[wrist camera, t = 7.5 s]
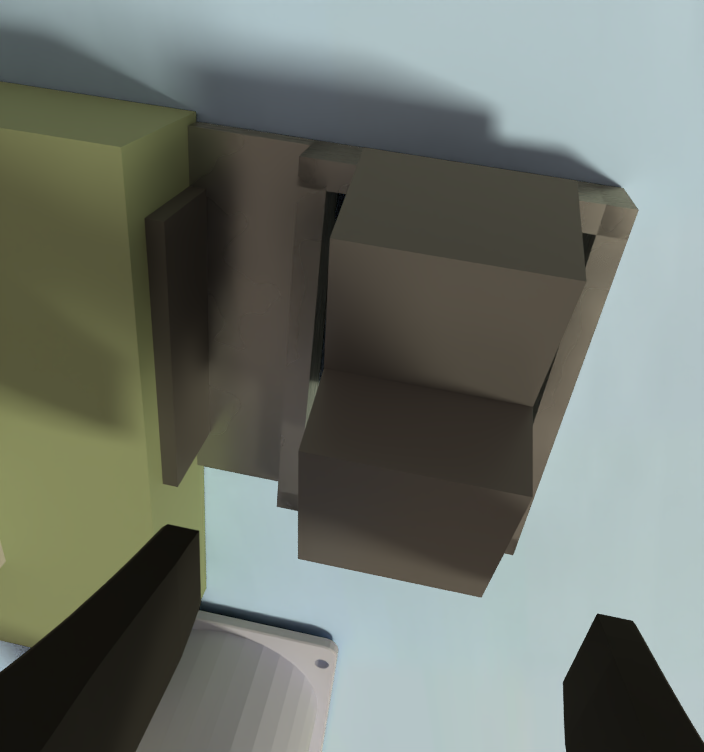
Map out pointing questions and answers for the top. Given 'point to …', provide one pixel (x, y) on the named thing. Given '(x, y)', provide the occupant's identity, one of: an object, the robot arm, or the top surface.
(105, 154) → the deck
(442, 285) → the stepped block
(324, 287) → the grey rectangular frame
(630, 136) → the top surface
